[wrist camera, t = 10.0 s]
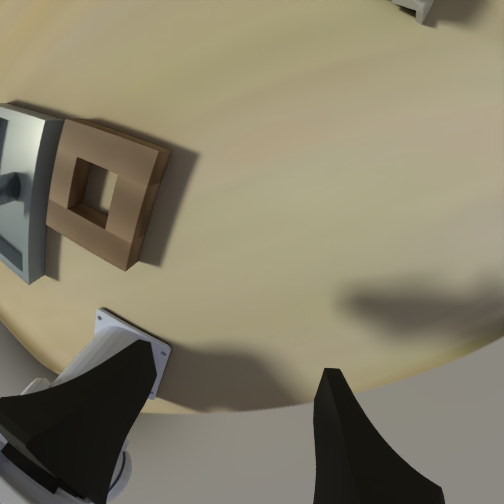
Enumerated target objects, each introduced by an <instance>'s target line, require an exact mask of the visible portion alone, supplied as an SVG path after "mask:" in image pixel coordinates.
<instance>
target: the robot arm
mask: <svg viewBox="0 0 504 504" xmlns="http://www.w3.org/2000/svg"><path fill="white" fill-rule="evenodd" d="M164 352H165V353H164ZM170 352H171V347H170V346H169V345H167V344H165V343H163V342H161V341H160V340H158V339H156V338H154V337H152V336H150V335H148V334H146V333H144V332H142V331H141V330H139V329H137V328H135V327H133V326H131V325H130V324H128V323H126V322H124V321H123V320H121V319H119V318H117V317H116V316H114V315H112V314H111V313H109V312H107V311H106V310H104V309H102V308H99V309H97V311H96V320H95V335H94V337H93V339H92V340H91V341H90V342H89V343H88V344H87V345H86V346H85V347H84V348H83V349H82V351H81V352H80V353H79V354H78V355H77V356H76V357H75V358H74V359H73V361H72V362H71V363H70V364H69V365H68V366H67V367H66V368H65V370H64V371H63V372H62V373H61V374H60V375H59V377H58V378H57V379H56V380H55V381H54V382H53V383H51V384H50V382H49V381H48V380H47V379H45V378H44V379H40V378H36V379H35V380H34V381H33V382H32V383H31V384H30V385H29V386H28V387H27V388H26V389H25V390H24V391H23V392H22V393H21V394H20V395H18V396H9V397H1V398H0V504H106V503H107V502H109V501H111V500H113V499H115V498H116V497H117V496H119V495H120V494H121V492H122V491H123V490H124V488H125V487H126V485H127V483H128V481H129V479H130V476H131V471H132V466H131V456H130V454H129V453H128V452H127V451H126V447H127V446H128V444H129V440H128V439H126V437H127V434H128V433H129V431H130V429H131V427H132V425H133V423H134V422H135V420H136V418H137V416H138V414H139V413H140V411H141V409H142V408H143V406H144V404H145V402H146V400H147V399H151V400H154V399H155V397H156V394H157V391H158V387H159V384H160V381H161V378H162V375H163V372H164V369H165V366H166V363H167V361H168V358H169V355H170ZM313 425H314V439H315V455H316V481H315V493H314V502H313V504H445V500H444V495H443V491H442V488H441V487H440V486H438V485H436V484H435V483H433V482H432V481H430V480H429V479H427V478H425V477H424V476H423V475H421V474H420V473H419V472H417V471H416V470H415V469H414V468H412V467H411V466H410V465H409V464H408V463H407V462H406V461H404V460H403V459H402V458H401V457H400V456H399V455H398V454H397V453H396V452H395V451H394V450H393V449H392V448H391V447H390V446H389V445H388V443H387V442H386V441H385V440H384V439H383V438H382V436H381V435H380V434H379V433H378V431H377V430H376V429H375V427H374V426H373V425H372V423H371V422H370V420H369V419H368V417H367V416H366V414H365V413H364V411H363V410H362V408H361V406H360V405H359V403H358V402H357V400H356V398H355V396H354V395H353V393H352V391H351V389H350V387H349V385H348V383H347V382H346V380H345V378H344V376H343V374H342V372H341V370H340V369H336V368H324V371H323V375H322V378H321V381H320V384H319V387H318V390H317V393H316V396H315V399H314V416H313Z"/></svg>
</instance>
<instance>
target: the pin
mask: <svg viewBox="0 0 504 504" xmlns="http://www.w3.org/2000/svg"><path fill="white" fill-rule="evenodd" d="M20 191H21V184H20V179H19V177H18V175H17V173H15V172H10V173H6V174H2V175H0V206H1V205H4V204H7V203H10V202H13V201H16V200H17V199H18V198H19V196H20Z"/></svg>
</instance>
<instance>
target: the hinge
mask: <svg viewBox="0 0 504 504" xmlns="http://www.w3.org/2000/svg"><path fill="white" fill-rule="evenodd" d="M434 1H435V0H392V3H394V4H397V5H401V6H404V7H407V8H410V9H413V10H416V22H418V23H420V24H422V23H423V21H424V19H425V18H426V16H427V14H428V12H429V10H430V8H431V6H432V4H433V2H434Z"/></svg>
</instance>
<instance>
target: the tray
mask: <svg viewBox="0 0 504 504" xmlns="http://www.w3.org/2000/svg"><path fill="white" fill-rule="evenodd" d="M64 122H65V120H63V119H60V118H56V117H53V116H50V115H46V114H43V113H40V112H36V111H33V110H29V109H26V108H22V107H18V106H15V105H11V104H7V103H0V175H2V174H6V173H10V172H15V173H17V175H18V177H19V179H20V184H21V191H20V196H19V198H18V199H17V200H16V201H13V202H10V203H7V204H4V205H1V206H0V260H1V261H2V262H3V263H4V264H5V265H6V266H7V267H9V268H10V269H11V270H12V271H13V272H14V273H15V274H16V275H18V276H19V277H20V278H21V279H22V280H23V281H25V282H26V283H27V284H28V285H30V284H31V283H33V282H34V281H36V280H37V279H39V278H40V277H42V276H44V253H45V234H46V218H47V209H48V201H49V194H50V187H51V181H52V175H53V169H54V164H55V159H56V155H57V150H58V146H59V141H60V137H61V133H62V130H63V126H64Z"/></svg>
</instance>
